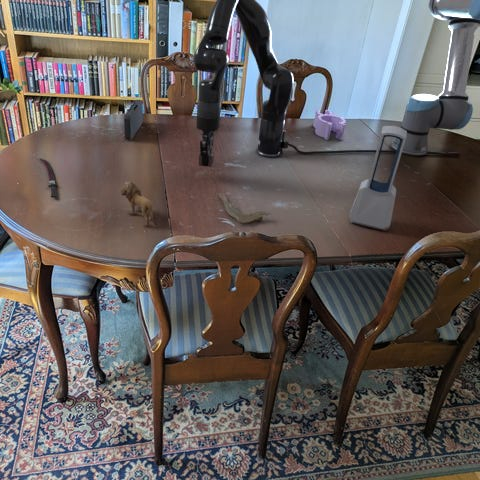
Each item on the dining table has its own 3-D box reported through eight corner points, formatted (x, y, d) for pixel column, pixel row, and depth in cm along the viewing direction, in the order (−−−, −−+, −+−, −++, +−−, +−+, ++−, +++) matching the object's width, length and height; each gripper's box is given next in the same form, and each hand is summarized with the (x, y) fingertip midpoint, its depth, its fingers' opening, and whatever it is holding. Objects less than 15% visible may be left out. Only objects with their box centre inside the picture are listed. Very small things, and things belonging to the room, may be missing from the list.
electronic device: (389, 222, 147) (418, 130, 131) (388, 233, 141) (417, 138, 125) (350, 212, 150) (373, 122, 134) (347, 223, 144) (370, 129, 127)
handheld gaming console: (136, 121, 202) (136, 98, 197) (143, 121, 202) (142, 98, 197) (123, 140, 183) (122, 115, 178) (130, 141, 183) (130, 116, 178)
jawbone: (251, 231, 136) (251, 225, 134) (200, 206, 146) (200, 200, 145) (270, 218, 141) (270, 213, 140) (219, 195, 152) (219, 189, 150)
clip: (307, 123, 221) (309, 109, 217) (331, 124, 223) (334, 110, 219) (321, 139, 204) (324, 124, 201) (347, 140, 207) (350, 125, 203)
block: (201, 160, 161) (201, 149, 159) (213, 162, 161) (214, 151, 159) (198, 165, 158) (199, 154, 156) (211, 167, 158) (212, 155, 155)
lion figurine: (118, 210, 138) (116, 182, 133) (132, 204, 141) (131, 177, 137) (151, 229, 130) (150, 201, 126) (165, 223, 134) (165, 195, 129)
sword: (61, 197, 141) (61, 193, 140) (50, 198, 139) (50, 194, 139) (49, 160, 164) (48, 156, 163) (39, 160, 163) (39, 157, 162)
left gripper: (201, 105, 156) (199, 153, 165) (192, 119, 144) (191, 170, 154) (223, 108, 156) (220, 156, 165) (216, 122, 144) (213, 173, 153)
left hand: (206, 162), depth 159 cm, fingers closed on block, 4 cm apart
